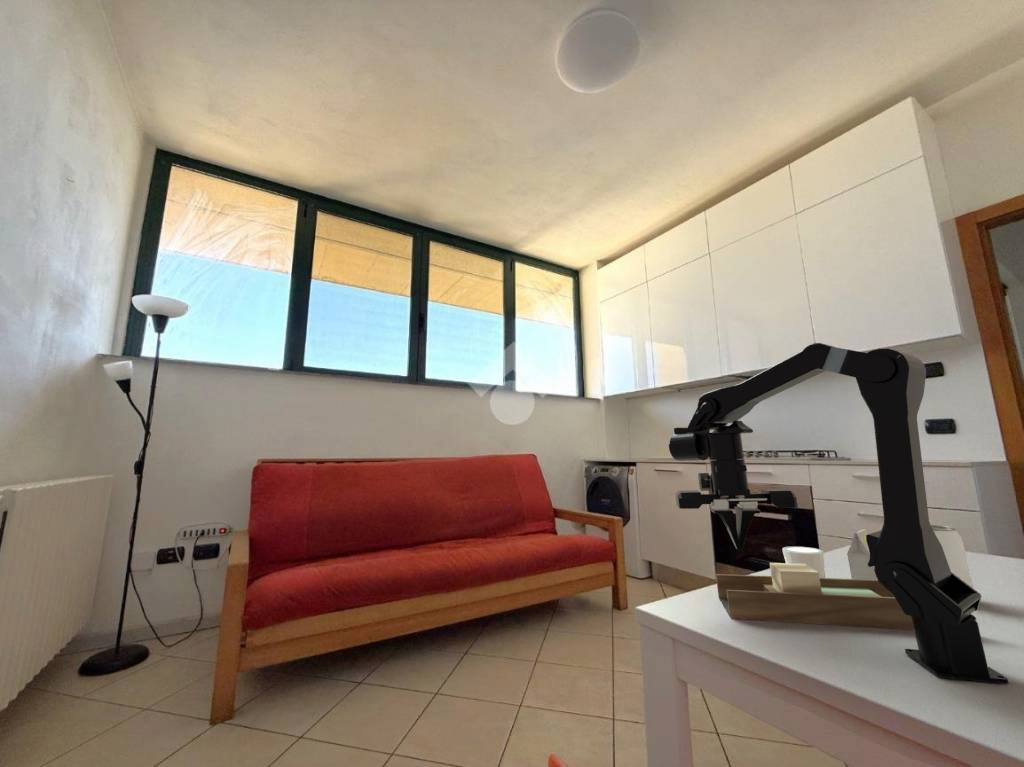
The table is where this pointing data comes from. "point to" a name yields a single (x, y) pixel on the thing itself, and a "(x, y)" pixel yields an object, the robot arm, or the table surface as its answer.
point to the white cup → (806, 557)
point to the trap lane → (813, 602)
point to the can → (954, 552)
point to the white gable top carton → (860, 557)
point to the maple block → (795, 578)
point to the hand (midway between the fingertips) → (739, 549)
